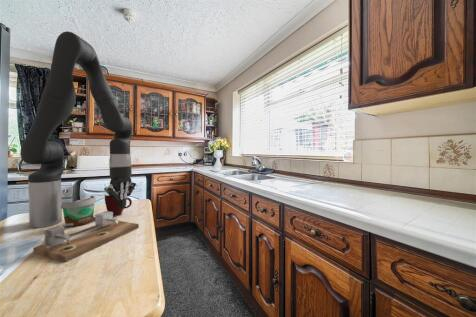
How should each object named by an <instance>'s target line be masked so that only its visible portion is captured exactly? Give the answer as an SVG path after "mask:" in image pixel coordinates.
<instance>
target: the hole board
mask: <svg viewBox="0 0 476 317" xmlns="http://www.w3.org/2000/svg"><path fill="white" fill-rule="evenodd" d="M139 225H140V224H139V223H136V222H135V223H134V222H128V221H122V220H118V225H117V226H115V222H113V223H112V224H109V225H106V226H104V227H100V226H95V225H92V226H90V227H87V228H85V229H82V230H79V231H77V232H76V231H75V232H74V233H71V234H68V235H67V234H65V226H61V225H60V226H59V225H56V226H53V227H50V228H46V229H44V237H45V238H44V243H43V244H39V245H37V246H34V247H33V251H32V253H34V254H35V255H36V254H37V255H40V256H44V257H47V258H51V259H55V260H58V261H62V262H64V263H67V262H69V261H72V260H73V259H76V258H78V257H80V256H81V255H84V254H86V253H88V252H91V251H93V250H95V249H97V248H99V247H101V246H103V245H106V244H107V243H109V242H112V241H114V240H116V239H118V238H121V237H122V236H124V235H126V234H128V233H131V232H134V231H135V230H137V229H139V227H140V226H139Z"/></svg>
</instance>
